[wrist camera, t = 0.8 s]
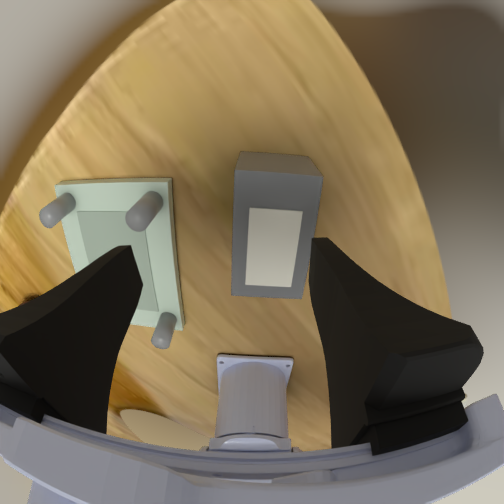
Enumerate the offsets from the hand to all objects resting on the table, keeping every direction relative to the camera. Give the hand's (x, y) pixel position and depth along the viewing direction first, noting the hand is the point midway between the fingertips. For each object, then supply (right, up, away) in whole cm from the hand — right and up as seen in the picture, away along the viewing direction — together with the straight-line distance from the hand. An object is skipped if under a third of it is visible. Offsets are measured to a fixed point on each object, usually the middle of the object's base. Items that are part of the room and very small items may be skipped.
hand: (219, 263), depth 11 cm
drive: (+3, +4, +9) cm, 10 cm away
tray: (-10, 0, +12) cm, 15 cm away
